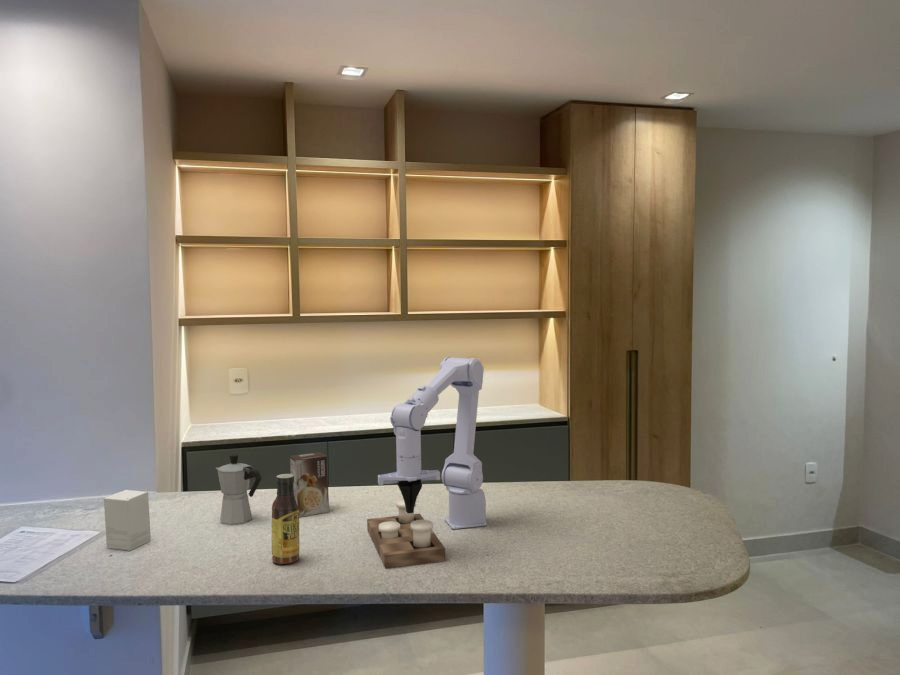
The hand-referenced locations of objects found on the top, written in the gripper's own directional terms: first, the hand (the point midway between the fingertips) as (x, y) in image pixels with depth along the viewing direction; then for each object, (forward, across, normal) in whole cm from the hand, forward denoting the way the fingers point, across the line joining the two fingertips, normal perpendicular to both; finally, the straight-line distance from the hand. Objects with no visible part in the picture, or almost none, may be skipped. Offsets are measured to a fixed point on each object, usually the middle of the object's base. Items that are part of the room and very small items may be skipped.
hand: (409, 511), depth 162 cm
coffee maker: (+10, -40, +36) cm, 55 cm away
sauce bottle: (+10, -28, +4) cm, 30 cm away
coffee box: (+10, -21, +37) cm, 44 cm away
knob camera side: (+7, +2, -3) cm, 8 cm away
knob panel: (+10, 0, +6) cm, 11 cm away
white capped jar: (+7, +2, +14) cm, 16 cm away
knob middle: (+10, -4, +6) cm, 12 cm away
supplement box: (+10, -66, +26) cm, 71 cm away
